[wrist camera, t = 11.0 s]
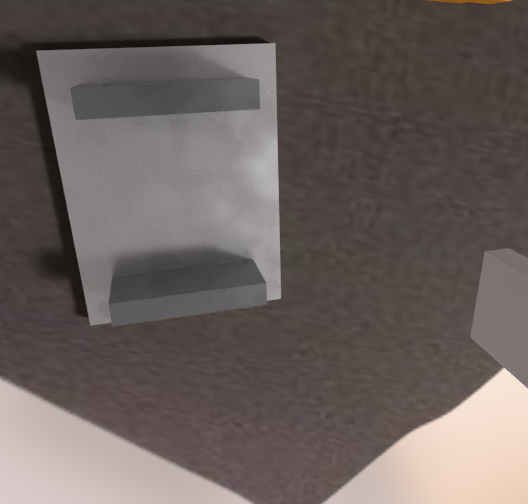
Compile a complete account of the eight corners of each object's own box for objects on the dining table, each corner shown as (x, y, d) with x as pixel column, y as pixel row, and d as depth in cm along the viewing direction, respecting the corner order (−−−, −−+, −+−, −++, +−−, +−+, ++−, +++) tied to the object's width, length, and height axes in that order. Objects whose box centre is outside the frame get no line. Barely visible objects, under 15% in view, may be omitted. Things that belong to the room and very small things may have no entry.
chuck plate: (39, 50, 28) (19, 49, 24) (271, 43, 31) (293, 40, 26) (91, 318, 35) (84, 357, 30) (277, 292, 38) (295, 324, 33)
